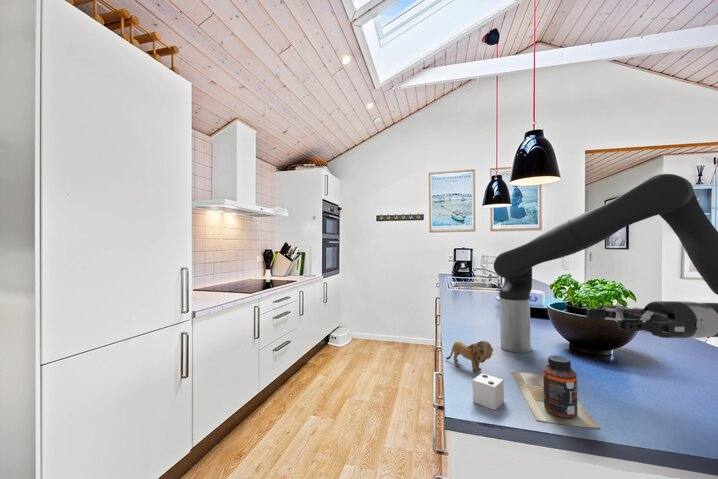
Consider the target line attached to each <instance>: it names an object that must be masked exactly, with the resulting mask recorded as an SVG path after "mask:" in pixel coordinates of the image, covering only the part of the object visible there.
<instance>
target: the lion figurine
mask: <svg viewBox="0 0 718 479" xmlns="http://www.w3.org/2000/svg"><path fill="white" fill-rule="evenodd" d="M493 352H494V348H493V346H492V344H491V343H490V342H489V341H488V340H481V341H479V342H476V343H471V344H470V345H469V346H468V345H466V344H464V343H463V342H462V341H455V342H454V343H453V344H452V348H451V352H450V355H449V356H447V357H445V360H449V359H451V358H452V356H453V361H454V367H456V368H457V367H458V368H459V367H460V364H459V363H458V362H459V359H458V357H459V356H460V355H461V356H462V357H463V358H464V359H466V360H469V361H471V368H472V373H473V374H474V375H477V374H479V372H481V371H482V368H481V367H480V364H483V363H485V361H486V360H489V359H491V357H492V355H493ZM478 371H479V372H478Z"/></svg>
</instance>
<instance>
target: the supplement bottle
mask: <svg viewBox="0 0 718 479" xmlns="http://www.w3.org/2000/svg"><path fill="white" fill-rule="evenodd" d="M547 359H548V360H547V363H548V364H546V365H544V367H543V370H542V371H543V372H542V374H543V383H544V407H545V409H546V410H547V411H548V412H549V413H551V414H553V415H555V416H558V417H561V418H568V419H571V418H575V417H576V416H577V411H578V407H577V406H578V405H577V401H578V381H577V373H576V372H575V370H573V368H572V367H571V366H572V362H571V359H570V358H568V357H566V356H562V355H551V354H550V355H548V357H547Z"/></svg>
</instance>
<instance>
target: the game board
mask: <svg viewBox="0 0 718 479" xmlns="http://www.w3.org/2000/svg"><path fill="white" fill-rule="evenodd" d="M511 374H512V376H513V378H514V379H515V381H516V383H517V385H518V387H519V390H520V391H521V393H522V395H523V397H524V399H525V401H526V403H527V405H528V407H529V409H530V411H531V413H532V415H533V417H534V419H535V420H536V422H542V423H550V424H559V425H566V426H571V427H572V426H574V427H580V428H589V429H596V430H597V429H598V430H601V427H600V426H599V424H597V422H596V421H595V420H594V418H592V416H591V415H590V414H589V413H588V412H587V410H586V409H585V408H584V407H583V405H581V403H580V402H579V400H577V405H578V406H577V407H578V411H577V416H576V417H575V418H571V419H568V418H561V417H558V416H555V415H553V414H551V413H549V412H548V411H547V410H546V409H545V407H544V383H543V373H541V374H540V373H530V372H520V371H511Z"/></svg>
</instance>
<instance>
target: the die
mask: <svg viewBox="0 0 718 479" xmlns="http://www.w3.org/2000/svg"><path fill="white" fill-rule="evenodd" d="M504 385H505V384H504V379H503V378H499V377H496V376H493V375H489V374H486V373H480V374H479V375H477V376H475V377H474V378H472V402H473V403H475V404H478V405H480V406H483V407H485V408H488V409H491V410H493V411H497V409H498V408H499V407H501V405H502V404H504V403H505V392H504V391H505V390H504V387H505V386H504Z"/></svg>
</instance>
